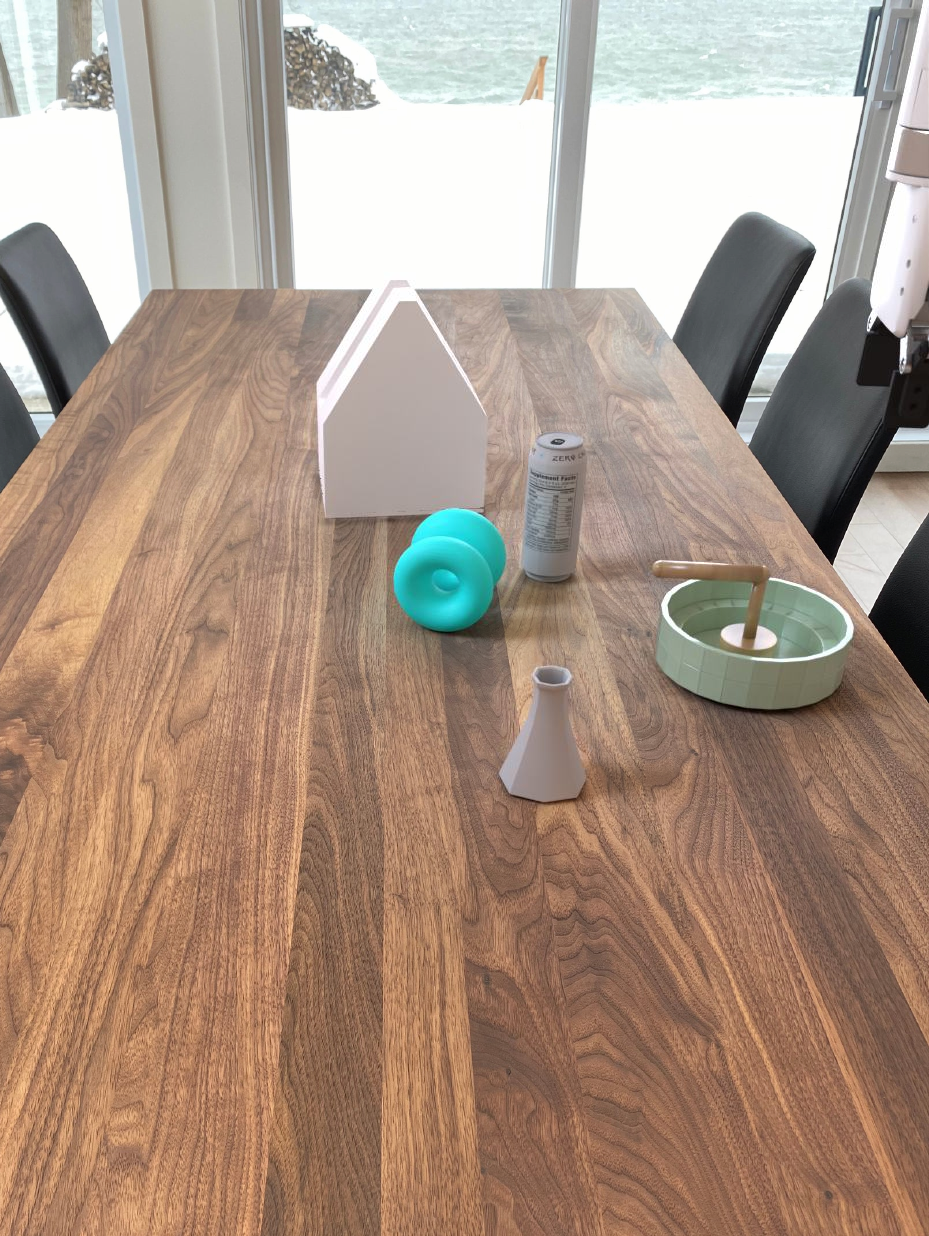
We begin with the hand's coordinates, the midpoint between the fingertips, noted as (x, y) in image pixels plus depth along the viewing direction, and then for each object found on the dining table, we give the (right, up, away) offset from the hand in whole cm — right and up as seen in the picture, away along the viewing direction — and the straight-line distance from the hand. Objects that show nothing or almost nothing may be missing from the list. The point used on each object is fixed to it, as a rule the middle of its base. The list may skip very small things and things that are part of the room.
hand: (889, 405), depth 90 cm
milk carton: (-36, +6, +59) cm, 70 cm away
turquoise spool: (-31, -12, +32) cm, 47 cm away
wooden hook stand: (-7, -18, +23) cm, 30 cm away
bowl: (-4, -18, +23) cm, 30 cm away
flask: (-25, -29, +8) cm, 39 cm away
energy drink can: (-20, -7, +40) cm, 45 cm away
